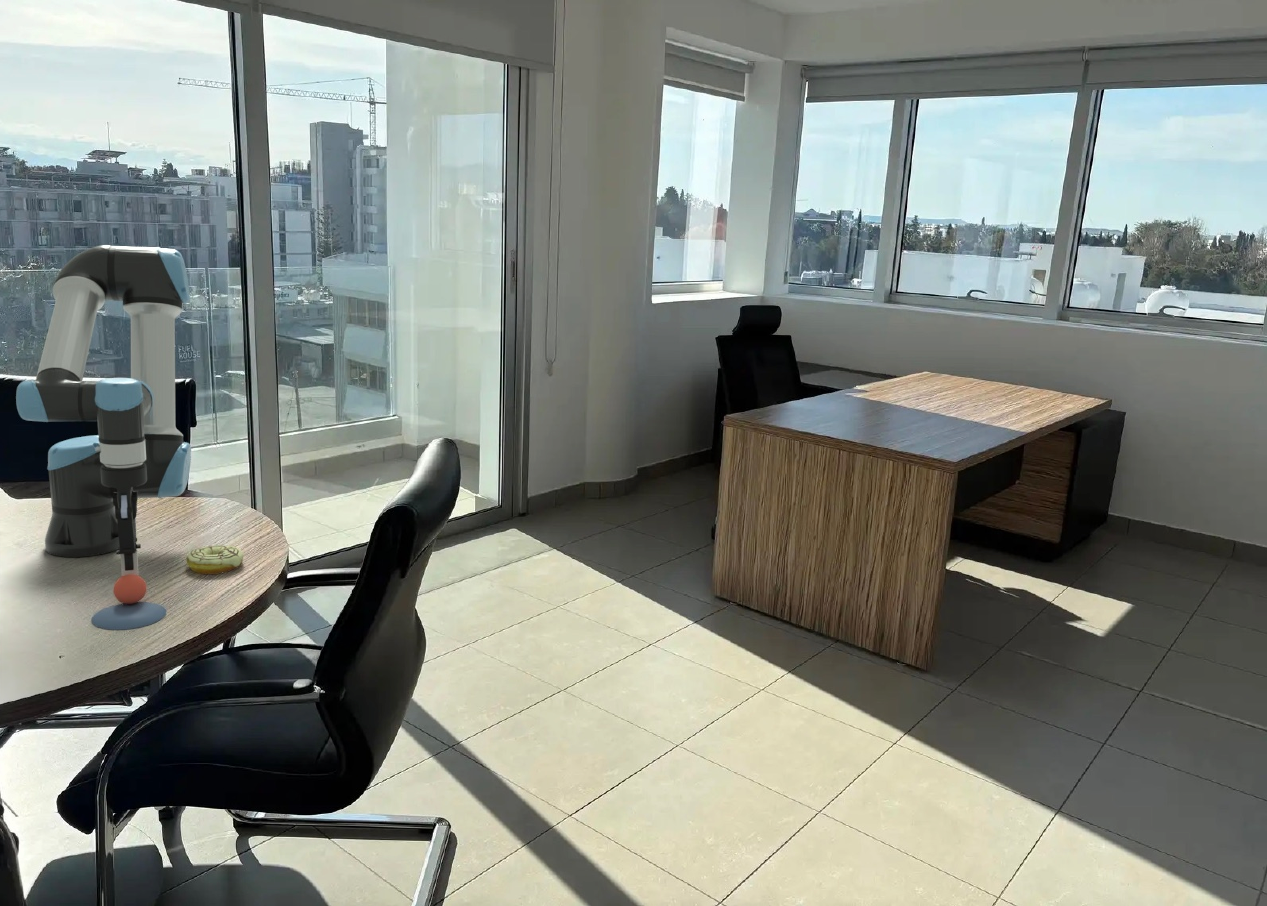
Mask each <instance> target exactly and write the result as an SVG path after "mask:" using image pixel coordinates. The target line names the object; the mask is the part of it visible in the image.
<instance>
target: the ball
mask: <svg viewBox="0 0 1267 906" xmlns="http://www.w3.org/2000/svg"><path fill="white" fill-rule="evenodd" d="M112 588H113V595H114V598H116V600H117V601H119V602H120V603H121V604H123V603H124V604H134V603H136V602H141V600H142V599H143V598H145V596H146V593H147V590H148V589H147V582H146V581H145V580H144V579H143V578H142V577H141V576H140V575H139V576H138V575H134V574H128V575H124V576H122V575H121V576H120V577H118V578H117V580H116V581H115V583H114V585H113V587H112Z"/></svg>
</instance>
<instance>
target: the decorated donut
mask: <svg viewBox="0 0 1267 906" xmlns="http://www.w3.org/2000/svg"><path fill="white" fill-rule="evenodd" d="M243 556H244V553H243V551H242V550H241V549H240V548H238V547H236V546H233V545H222V544H218V545H207V546H201V547H197V548H195V549H193V550H192V549H191V551H189V552H188V553H187V554H186V559H185V560H186V561H185V562H186V564H187V566H188V567H189V568H190V570H191V571H193V572H194V573H197V574H202V575H208V574H209V575H210V574H211V575H217V574H216V573H219V574H223V573H222V572H224V573H228V572H230V571H232V569H233V570H235V569H238V568H239V567H240V566H241V565H242V562H243V558H244V557H243ZM237 567H238V568H237ZM227 571H228V572H227Z"/></svg>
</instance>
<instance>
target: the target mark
mask: <svg viewBox="0 0 1267 906" xmlns="http://www.w3.org/2000/svg"><path fill="white" fill-rule="evenodd" d="M166 615H167V608H165V606H163V605H162V604H160V603H159V604H158V603H155V602H149V601H147V602H146V601H139V602H136V603H134V604H124V603H119V604H115V605H111V606H108V607H105V608H103V609H101V610H98V611H96V612H95V613H94V614H93V615H92V617H91V623H92V625H93V626H95V627H97V628H100V629H103V630H108V631H109V630H110V631H123V630H124V631H126V630H134V629H140V628H144V627H147V626H150V625H152V624H156V623H157V622H159V621H161V620H163V618H164V617H165V616H166Z"/></svg>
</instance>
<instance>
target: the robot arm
mask: <svg viewBox="0 0 1267 906" xmlns="http://www.w3.org/2000/svg"><path fill="white" fill-rule="evenodd" d="M189 284H190V283H189V277H188V272H187V268H186V264H185V260H184V257H183V255H182V253H181V252H180V251H178V250H177V249H173V248H163V247H162V248H161V247H159V246H156V247H149V246H122V245H121V246H120V245H110V244H103V245H97V246H92V247H91V248H90V247H89V248H88V249H87V248H86V249H85V250H83V251H82V252H79V253H78V254H76V255H75V256H74V257H72V258H71V259H70V260H68V261H67V262H66V264H65V265H64V266H63V267H62V268H61V269H60V271H59V273H58V274H57V275H56V277H55V280H54V284H53V287H52V296H53V298H54V300H55V303H54V307H53V311H52V314H51V319H50V323H49V326H48V331H47V334H46V338H45V342H44V347H43V349H42V355H41V358H40V361H39V366H38V369H37V374H36V378H35V380H34V379H31V380H23V381H21V382H20V383H19V384H18V386H17V387H16V394H15V395H16V396H15V399H16V401H15V402H16V403H15V404H16V409H17V412H18V415H19V417H20V418H21V419H22V420H25V421H27V422H29V421H32V422H43V423H45V422H46V423H48V422H97V433H98V434H97V435H95V434H94V435H86V436H81V437H80V436H79V437H73V438H69V439H66V440H63V441H59V442H57V443H55V444H54V445H52V446H51V447H50V448H49V449H48V452H47V462H48V463H47V467H46V469H47V470H48V478H49V479H48V480H49V490H50V501H51V518H50V521H49V525H48V527H47V529H46V530H47V531H46V534H45V539H44V544H45V548H44V549H45V551H46V552H47V553H48V554H50V555H53V556H57V557H63V558H81V557H82V558H84V557H92V556H98V555H99V556H100V555H103V554H104V555H105V554H108V553H111V552H114V551H116V552H115V553H116V554H115V555H120V565H121V566H120V569H121V577H122V576H124V575H128V574H134V575H138V576H140V575H139V559H138V550H139V549H141V548H142V547H141V546H142V544H139V543H138V542H137V541H138V538H137V521H136V518H137V514H138V499H149V498H156V499H163V498H170V497H171V498H174V497H178V496H181V495H182V494H183V493H184V492H185V491H186V488H187V485H188V481H189V478H190V469H191V463H192V462H191V461H192V447H191V444H190V443H189V442H187V441H186V442H185V441H184V434H183V433H182V432H181V431H180V430H179V429H177V427H176V346H175V345H176V344H175V343H176V342H175V341H176V339H175V337H176V335H175V334H176V331H175V328H176V323H175V321H176V318H177V317H178V316H179V315H180V314H182V312H183V304H184V305H185V304H188V303H190V301H191V296H190V295H191V293H190V292H191V290H190V285H189ZM107 301H113V302H115V301H117V302H119V301H120V302H122V309H123V311H124V312H125V313H127V314H128V316H130V377H113V378H112V377H109V378H104V379H100V380H97V381H86V380H85V381H83V378H84V374H85V369H86V365H87V360H88V355H89V350H90V347H91V343H92V342H91V341H92V337H93V332H94V326H95V323H96V317H97V315H98V311H100V310H101V309H102V308H103V306H104V305H105V303H106V302H107Z"/></svg>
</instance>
